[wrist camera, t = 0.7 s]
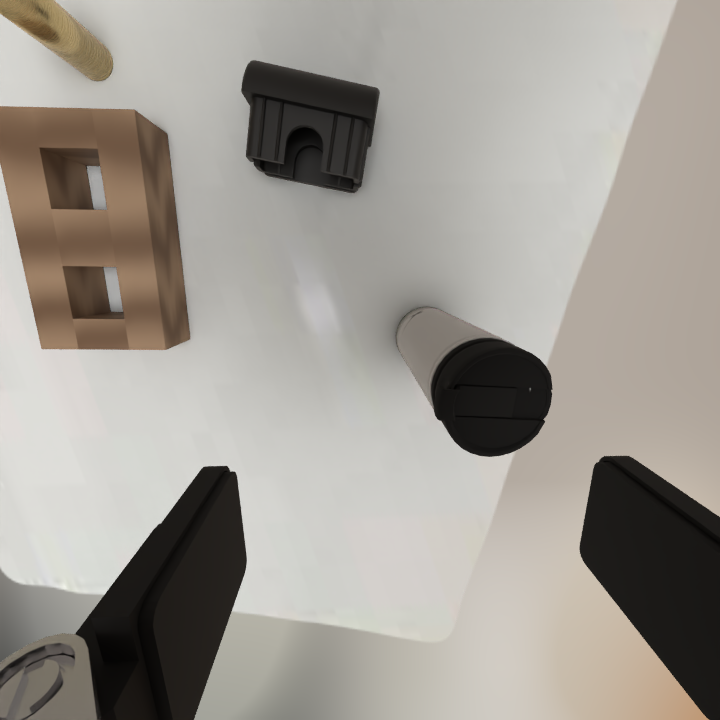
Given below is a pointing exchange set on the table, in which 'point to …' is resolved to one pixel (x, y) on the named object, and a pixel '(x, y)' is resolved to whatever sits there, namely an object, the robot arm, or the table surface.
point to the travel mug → (475, 381)
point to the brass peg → (60, 35)
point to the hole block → (95, 226)
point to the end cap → (308, 126)
